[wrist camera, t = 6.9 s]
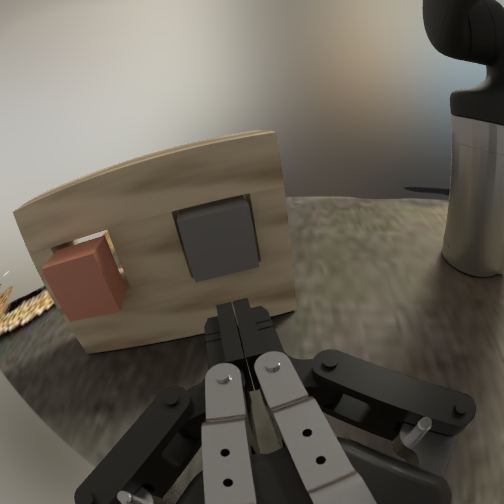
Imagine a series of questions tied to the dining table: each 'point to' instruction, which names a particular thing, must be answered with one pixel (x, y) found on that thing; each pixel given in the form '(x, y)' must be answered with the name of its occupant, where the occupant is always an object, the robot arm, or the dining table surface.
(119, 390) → the dining table surface
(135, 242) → the key panel
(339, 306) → the dining table surface
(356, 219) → the dining table surface
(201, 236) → the graphite key
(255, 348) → the robot arm
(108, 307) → the brick red key
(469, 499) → the dining table surface
